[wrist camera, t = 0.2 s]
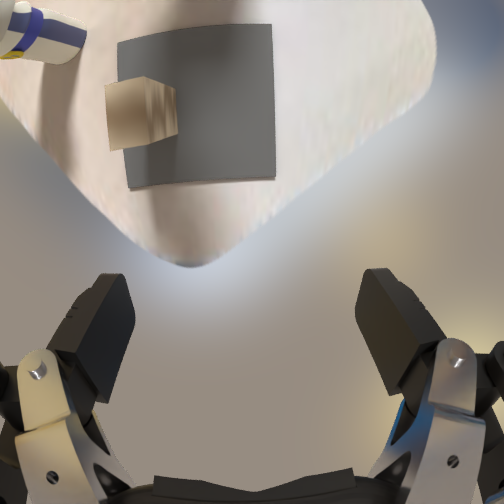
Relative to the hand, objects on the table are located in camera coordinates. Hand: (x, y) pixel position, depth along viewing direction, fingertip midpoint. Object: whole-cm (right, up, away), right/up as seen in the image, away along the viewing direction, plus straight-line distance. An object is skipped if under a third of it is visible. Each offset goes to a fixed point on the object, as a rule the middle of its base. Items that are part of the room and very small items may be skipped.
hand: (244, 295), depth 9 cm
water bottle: (-26, +32, +15) cm, 44 cm away
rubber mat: (-7, +20, +22) cm, 31 cm away
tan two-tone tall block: (-11, +19, +22) cm, 31 cm away
